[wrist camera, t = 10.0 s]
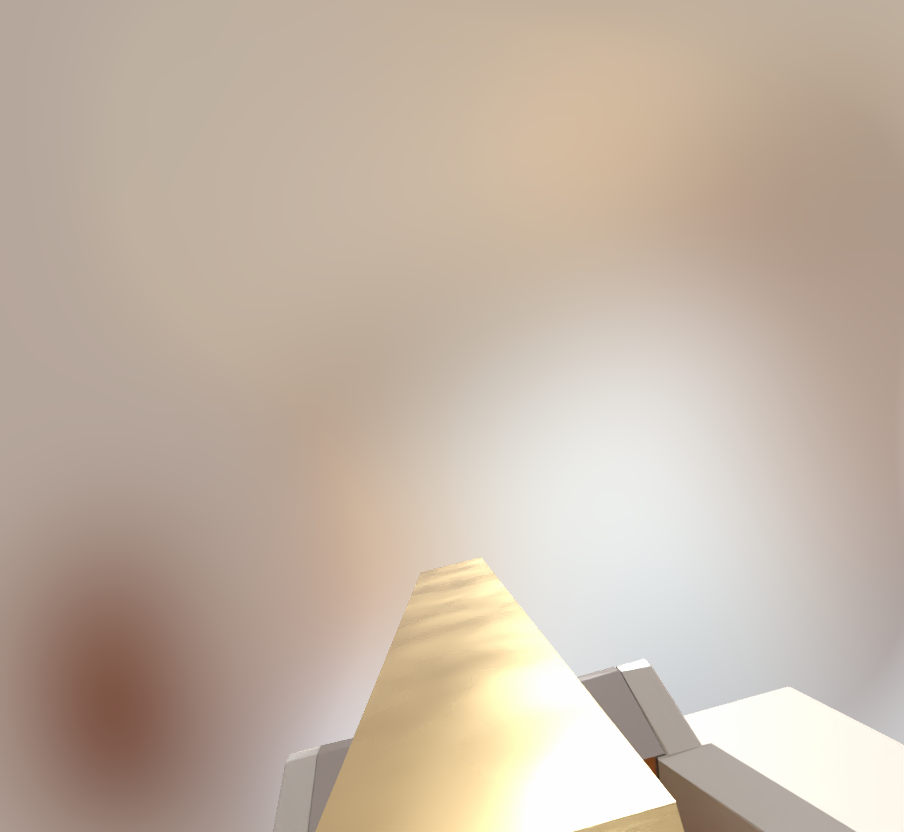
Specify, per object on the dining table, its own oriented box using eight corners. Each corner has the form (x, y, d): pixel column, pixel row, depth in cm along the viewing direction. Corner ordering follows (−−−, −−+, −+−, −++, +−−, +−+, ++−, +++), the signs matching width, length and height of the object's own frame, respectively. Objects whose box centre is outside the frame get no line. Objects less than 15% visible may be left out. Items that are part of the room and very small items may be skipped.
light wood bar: (496, 620, 25) (480, 557, 26) (818, 1296, 3) (674, 800, 4) (435, 636, 25) (420, 572, 25) (368, 1454, 3) (281, 914, 4)
